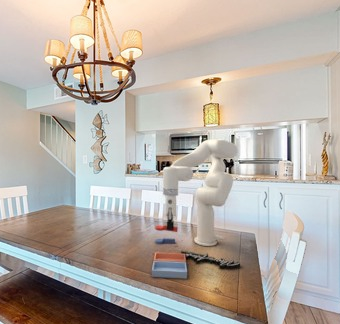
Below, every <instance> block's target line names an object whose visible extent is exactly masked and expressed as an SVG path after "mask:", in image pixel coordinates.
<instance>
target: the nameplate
mask: <svg viewBox="0 0 340 324" xmlns="http://www.w3.org/2000/svg"><path fill="white" fill-rule="evenodd" d="M180 254H185V259H186V261H188V260H191V261H193V262H195V263H196V265H199V264H202V263H208V264H211V265H215V266H219V269H220V270H224V269H225V270H235V269H240V267H241V262H240V261H237V262H236V263H235V260H230V261H229V260H225V259H224V258H220V259H219V258H216V257H214V256H209V253H208V252H206V253H205V254H204V253H197V252H191V251H186V250H181V251H180Z"/></svg>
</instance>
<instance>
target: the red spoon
mask: <svg viewBox="0 0 340 324" xmlns="http://www.w3.org/2000/svg"><path fill="white" fill-rule="evenodd" d="M178 228H179V227H178V226H175V225H174V229H173V230H167V224H163V225H155V227H154V229H155V230H156V231H158V232H159V231H160V232H163V231H166V232H172V233H174V232H175V233H178Z"/></svg>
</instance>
